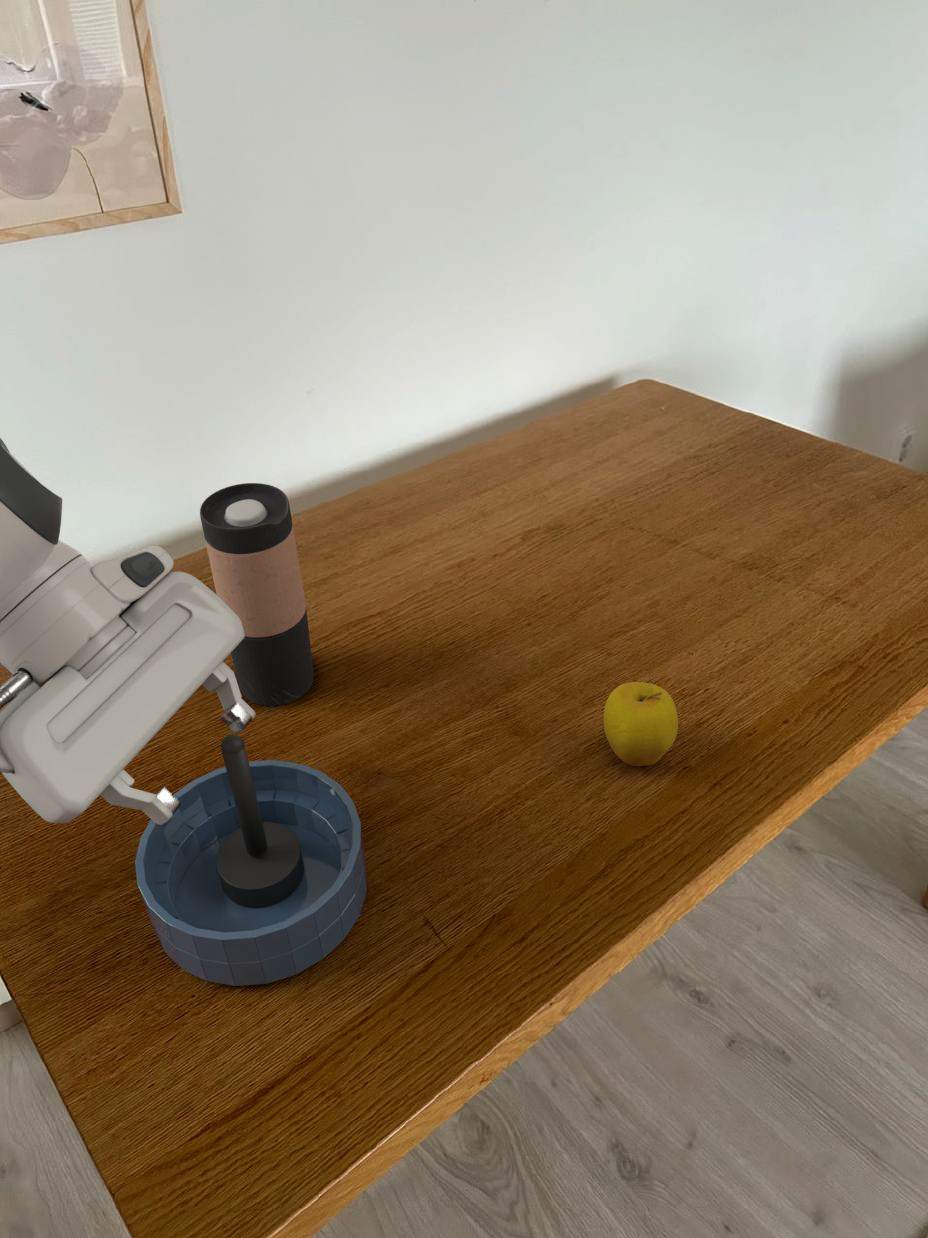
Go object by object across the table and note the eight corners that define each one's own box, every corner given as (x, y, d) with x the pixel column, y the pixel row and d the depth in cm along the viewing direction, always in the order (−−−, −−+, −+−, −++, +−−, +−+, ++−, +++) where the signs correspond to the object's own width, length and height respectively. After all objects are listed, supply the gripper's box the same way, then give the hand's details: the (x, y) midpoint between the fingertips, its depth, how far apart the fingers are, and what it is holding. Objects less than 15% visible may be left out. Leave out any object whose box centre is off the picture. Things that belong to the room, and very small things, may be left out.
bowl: (248, 1037, 67) (232, 984, 63) (112, 906, 75) (90, 853, 71) (410, 884, 76) (406, 830, 72) (274, 783, 85) (262, 730, 81)
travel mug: (230, 666, 97) (191, 492, 84) (306, 647, 99) (279, 474, 86) (245, 717, 91) (205, 538, 79) (325, 696, 93) (299, 518, 81)
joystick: (257, 923, 73) (223, 787, 63) (204, 877, 76) (163, 742, 67) (321, 869, 77) (297, 733, 67) (267, 827, 80) (237, 692, 70)
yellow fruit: (684, 774, 85) (696, 707, 80) (613, 786, 84) (621, 719, 79) (658, 723, 89) (667, 657, 85) (591, 734, 89) (596, 668, 84)
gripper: (-36, 713, 58) (138, 868, 61) (173, 533, 72) (305, 665, 75) (-66, 746, 62) (98, 890, 65) (138, 569, 76) (263, 693, 79)
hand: (211, 767), depth 70 cm, fingers open, 8 cm apart
